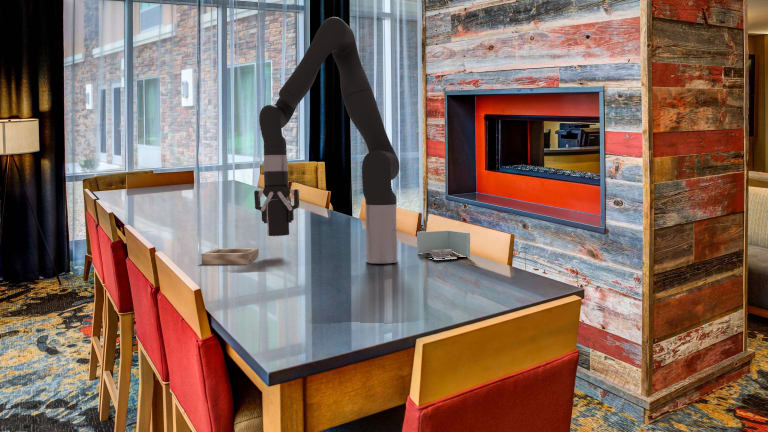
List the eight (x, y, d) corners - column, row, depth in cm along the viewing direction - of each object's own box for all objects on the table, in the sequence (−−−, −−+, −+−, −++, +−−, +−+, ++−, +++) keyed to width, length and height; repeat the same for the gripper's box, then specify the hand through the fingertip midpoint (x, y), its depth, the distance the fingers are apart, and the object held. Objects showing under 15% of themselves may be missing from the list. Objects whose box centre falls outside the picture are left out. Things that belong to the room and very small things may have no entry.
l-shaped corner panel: (417, 255, 196) (416, 232, 195) (449, 253, 201) (449, 230, 200) (436, 259, 185) (436, 234, 184) (470, 257, 190) (470, 233, 190)
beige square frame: (258, 258, 191) (258, 248, 191) (247, 264, 178) (247, 253, 178) (216, 258, 192) (215, 248, 192) (201, 264, 179) (201, 253, 178)
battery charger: (286, 234, 197) (285, 198, 197) (290, 235, 194) (289, 199, 193) (265, 236, 194) (263, 199, 193) (268, 236, 190) (267, 199, 190)
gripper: (300, 169, 196) (302, 221, 197) (256, 171, 197) (258, 222, 198) (296, 169, 189) (298, 223, 190) (250, 170, 189) (252, 224, 190)
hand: (277, 222), depth 194 cm, fingers closed on battery charger, 7 cm apart
